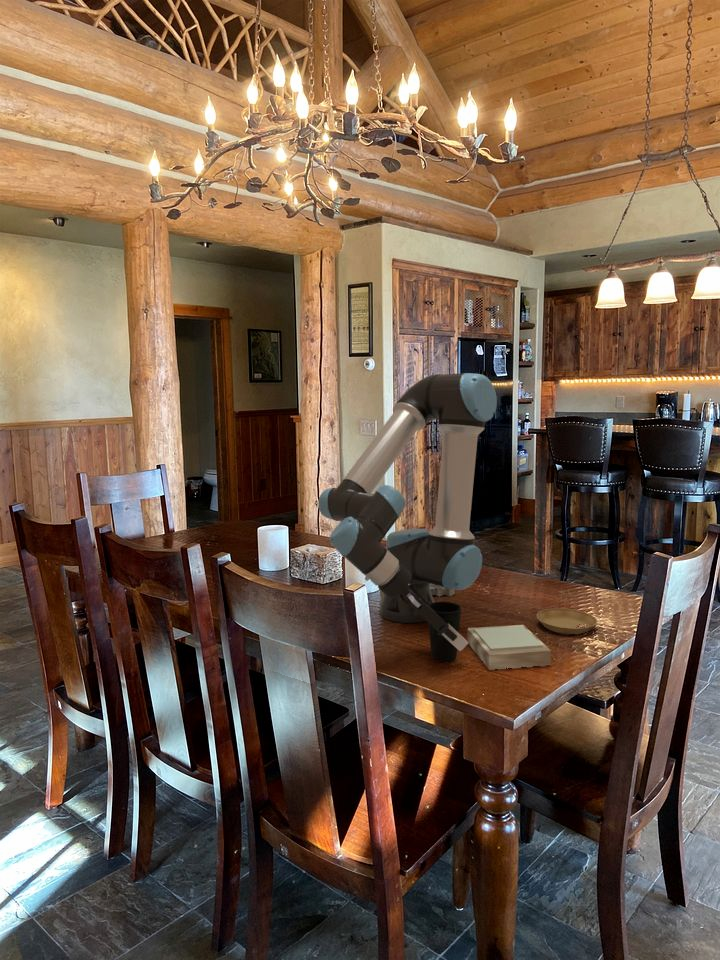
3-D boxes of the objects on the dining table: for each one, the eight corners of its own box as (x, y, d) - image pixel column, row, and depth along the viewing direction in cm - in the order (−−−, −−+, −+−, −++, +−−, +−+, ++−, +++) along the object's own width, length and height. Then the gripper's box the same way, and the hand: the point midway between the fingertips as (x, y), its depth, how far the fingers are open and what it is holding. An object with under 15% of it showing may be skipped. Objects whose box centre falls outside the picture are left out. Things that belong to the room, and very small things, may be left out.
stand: (467, 642, 157) (467, 626, 156) (522, 638, 159) (523, 622, 158) (489, 670, 141) (489, 652, 141) (550, 665, 143) (551, 648, 142)
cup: (460, 651, 151) (460, 601, 150) (461, 665, 144) (462, 613, 142) (426, 650, 152) (426, 601, 150) (426, 664, 145) (427, 612, 143)
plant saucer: (603, 624, 168) (604, 614, 168) (587, 642, 156) (587, 632, 156) (547, 613, 177) (547, 604, 176) (528, 630, 165) (528, 620, 164)
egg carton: (450, 589, 199) (451, 576, 198) (456, 597, 192) (456, 584, 191) (416, 590, 198) (416, 577, 198) (420, 598, 191) (421, 585, 190)
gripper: (369, 573, 154) (436, 634, 158) (384, 601, 133) (460, 670, 138) (391, 550, 154) (457, 612, 158) (409, 574, 133) (484, 645, 138)
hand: (458, 639), depth 148 cm, fingers closed on cup, 8 cm apart
